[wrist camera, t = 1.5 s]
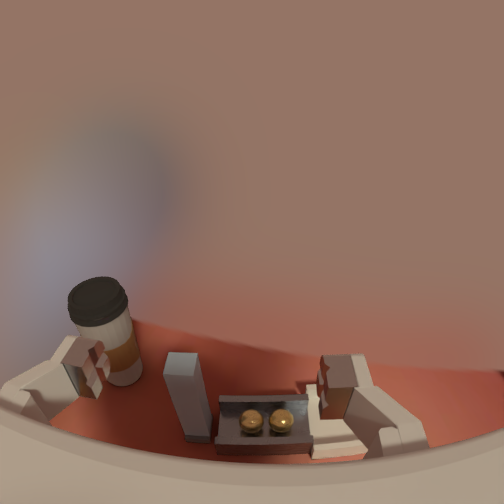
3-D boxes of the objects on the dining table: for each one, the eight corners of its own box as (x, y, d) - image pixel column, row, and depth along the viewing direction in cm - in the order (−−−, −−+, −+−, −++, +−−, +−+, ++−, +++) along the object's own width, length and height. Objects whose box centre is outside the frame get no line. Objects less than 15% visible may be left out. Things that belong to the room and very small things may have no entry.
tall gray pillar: (213, 417, 38) (198, 349, 32) (210, 443, 34) (192, 379, 28) (190, 416, 38) (169, 348, 32) (186, 441, 34) (161, 377, 28)
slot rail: (305, 406, 39) (308, 393, 37) (310, 453, 32) (313, 442, 31) (221, 408, 39) (219, 395, 38) (217, 454, 33) (214, 443, 31)
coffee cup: (158, 380, 43) (131, 298, 36) (107, 400, 39) (67, 320, 32) (139, 346, 49) (116, 268, 42) (94, 363, 45) (61, 286, 38)
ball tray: (361, 390, 40) (365, 379, 39) (376, 451, 31) (381, 442, 30) (304, 395, 40) (306, 384, 39) (311, 459, 32) (314, 450, 30)
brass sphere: (263, 417, 37) (263, 404, 35) (264, 437, 34) (264, 425, 33) (239, 417, 37) (238, 404, 35) (238, 437, 34) (237, 425, 33)
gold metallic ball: (292, 416, 37) (293, 403, 35) (293, 436, 34) (295, 424, 32) (268, 417, 37) (268, 404, 35) (268, 437, 34) (268, 425, 33)
